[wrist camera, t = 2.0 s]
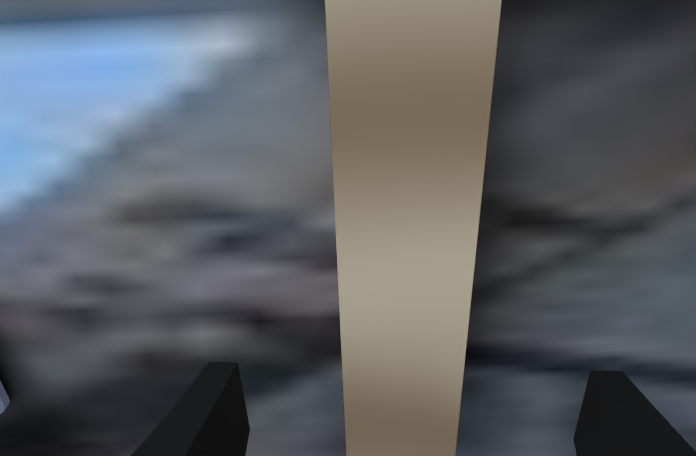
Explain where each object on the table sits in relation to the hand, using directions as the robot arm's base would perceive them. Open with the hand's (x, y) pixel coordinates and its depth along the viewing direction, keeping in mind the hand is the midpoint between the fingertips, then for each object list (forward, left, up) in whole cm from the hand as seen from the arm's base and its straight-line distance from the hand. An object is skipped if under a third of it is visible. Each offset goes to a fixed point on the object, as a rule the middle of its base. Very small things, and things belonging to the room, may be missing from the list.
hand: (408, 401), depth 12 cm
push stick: (+6, 0, -5) cm, 8 cm away
